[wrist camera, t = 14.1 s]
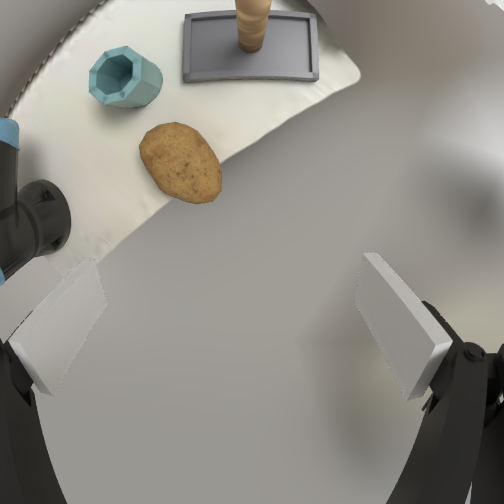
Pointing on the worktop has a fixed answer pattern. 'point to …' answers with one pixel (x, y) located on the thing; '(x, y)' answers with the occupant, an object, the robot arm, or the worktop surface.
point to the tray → (250, 64)
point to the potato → (181, 163)
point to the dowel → (252, 23)
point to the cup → (124, 79)
